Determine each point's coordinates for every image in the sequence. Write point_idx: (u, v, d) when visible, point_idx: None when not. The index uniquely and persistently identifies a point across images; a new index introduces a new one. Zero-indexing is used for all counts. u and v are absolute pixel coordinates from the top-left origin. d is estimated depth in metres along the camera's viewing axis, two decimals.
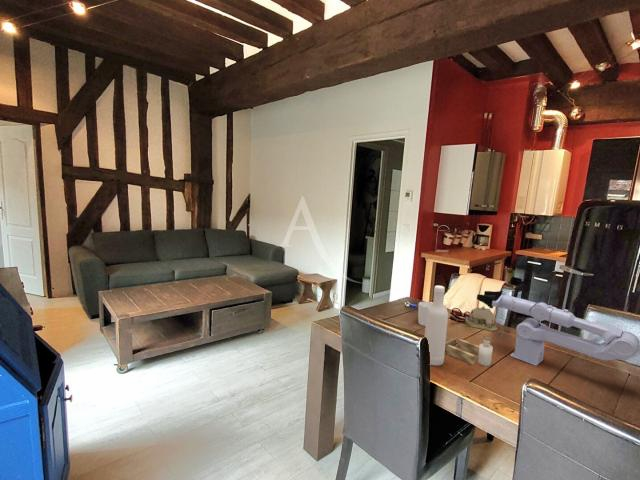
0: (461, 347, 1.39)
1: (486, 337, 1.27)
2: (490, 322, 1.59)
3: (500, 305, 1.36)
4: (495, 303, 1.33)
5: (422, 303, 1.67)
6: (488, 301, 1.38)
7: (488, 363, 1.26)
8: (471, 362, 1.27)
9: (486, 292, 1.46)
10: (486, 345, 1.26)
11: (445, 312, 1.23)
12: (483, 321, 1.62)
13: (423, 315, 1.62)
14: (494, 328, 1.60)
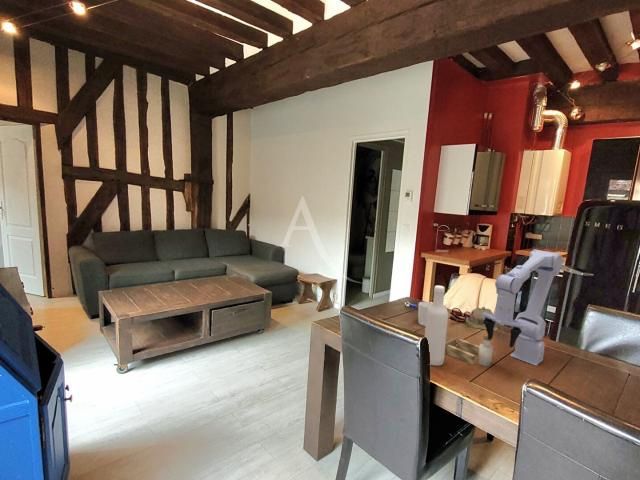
0: (461, 347, 1.39)
1: (486, 337, 1.27)
2: None
3: (512, 320, 1.21)
4: (524, 327, 1.16)
5: (422, 303, 1.67)
6: None
7: (488, 363, 1.26)
8: (471, 362, 1.27)
9: (490, 337, 1.25)
10: (486, 345, 1.26)
11: (445, 312, 1.23)
12: None
13: (423, 315, 1.62)
14: (495, 328, 1.60)
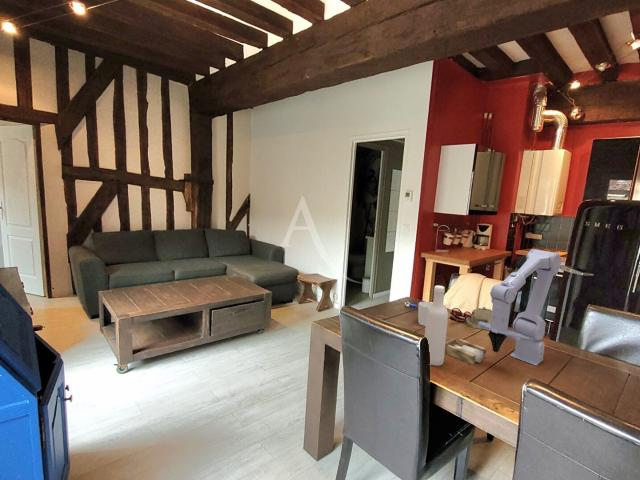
0: None
1: None
2: None
3: (507, 329, 1.22)
4: (519, 336, 1.18)
5: (422, 303, 1.67)
6: None
7: (476, 356, 1.28)
8: (471, 362, 1.27)
9: None
10: None
11: (445, 312, 1.23)
12: None
13: (423, 315, 1.62)
14: None
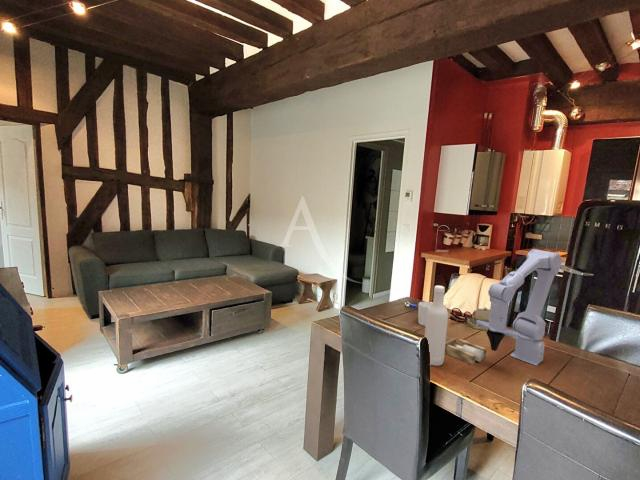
0: None
1: None
2: None
3: (505, 328, 1.23)
4: (517, 335, 1.18)
5: (422, 303, 1.67)
6: None
7: (477, 354, 1.28)
8: (471, 362, 1.27)
9: None
10: None
11: (445, 312, 1.23)
12: None
13: (423, 315, 1.62)
14: None
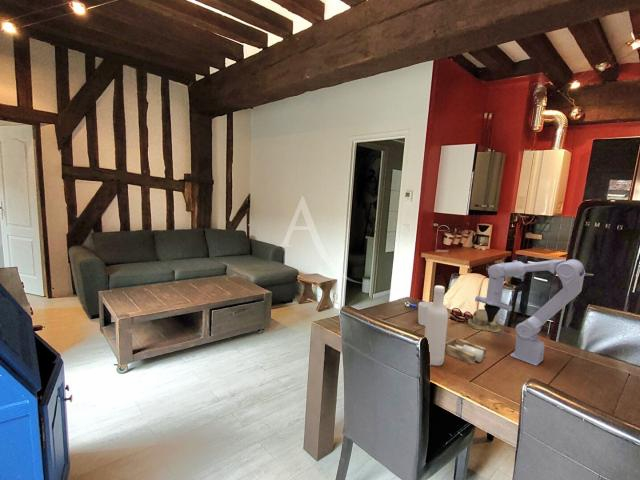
0: None
1: None
2: (494, 323, 1.58)
3: (501, 302, 1.41)
4: (510, 308, 1.36)
5: (422, 303, 1.67)
6: None
7: (477, 354, 1.28)
8: (471, 362, 1.27)
9: None
10: None
11: (445, 312, 1.23)
12: (487, 323, 1.60)
13: (423, 315, 1.62)
14: (498, 329, 1.59)
